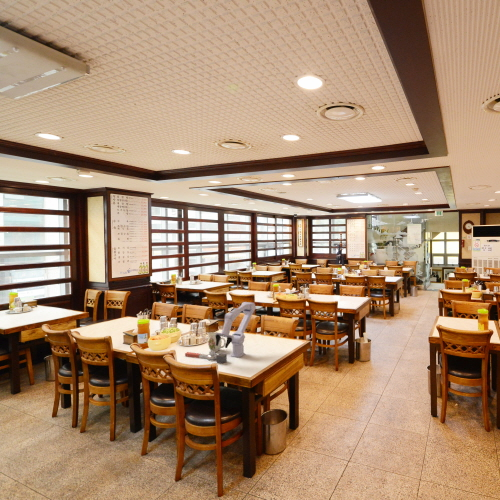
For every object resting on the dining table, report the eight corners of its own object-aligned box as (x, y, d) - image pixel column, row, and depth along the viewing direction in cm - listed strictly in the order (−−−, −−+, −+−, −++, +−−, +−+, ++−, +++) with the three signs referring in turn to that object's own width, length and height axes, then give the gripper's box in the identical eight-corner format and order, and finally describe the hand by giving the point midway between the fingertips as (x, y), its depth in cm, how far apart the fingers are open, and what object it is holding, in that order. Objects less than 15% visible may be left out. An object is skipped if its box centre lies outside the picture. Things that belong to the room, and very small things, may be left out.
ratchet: (183, 357, 266) (183, 350, 266) (189, 353, 273) (189, 347, 273) (214, 361, 256) (214, 353, 255) (219, 357, 263) (219, 350, 263)
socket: (220, 360, 257) (219, 353, 257) (226, 361, 255) (226, 354, 255) (216, 362, 252) (216, 355, 252) (223, 363, 250) (223, 356, 249)
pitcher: (222, 353, 272) (222, 336, 272) (202, 351, 280) (202, 334, 279) (228, 349, 282) (228, 332, 282) (209, 347, 290) (209, 330, 289)
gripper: (216, 325, 255) (210, 343, 250) (233, 328, 250) (228, 347, 244) (219, 328, 261) (214, 345, 256) (236, 331, 255) (231, 349, 250)
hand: (221, 346), depth 250 cm, fingers open, 7 cm apart
